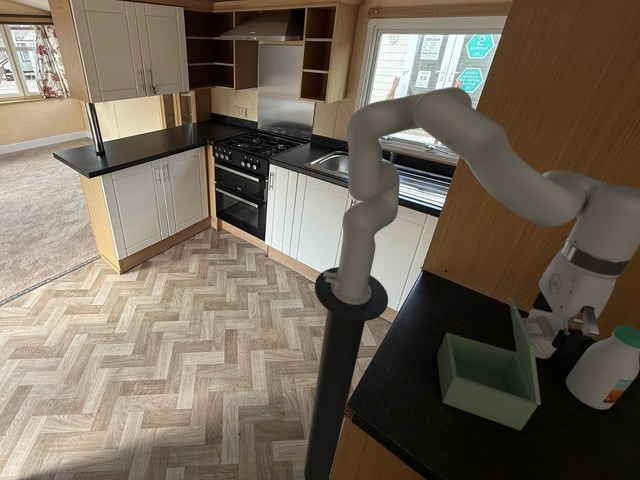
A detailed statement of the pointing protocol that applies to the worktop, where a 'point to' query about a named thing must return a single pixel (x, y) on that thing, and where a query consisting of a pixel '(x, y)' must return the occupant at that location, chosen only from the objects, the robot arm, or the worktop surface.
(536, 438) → the worktop surface
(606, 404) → the milk bottle
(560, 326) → the white cup
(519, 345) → the lid
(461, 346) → the chest
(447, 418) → the worktop surface
